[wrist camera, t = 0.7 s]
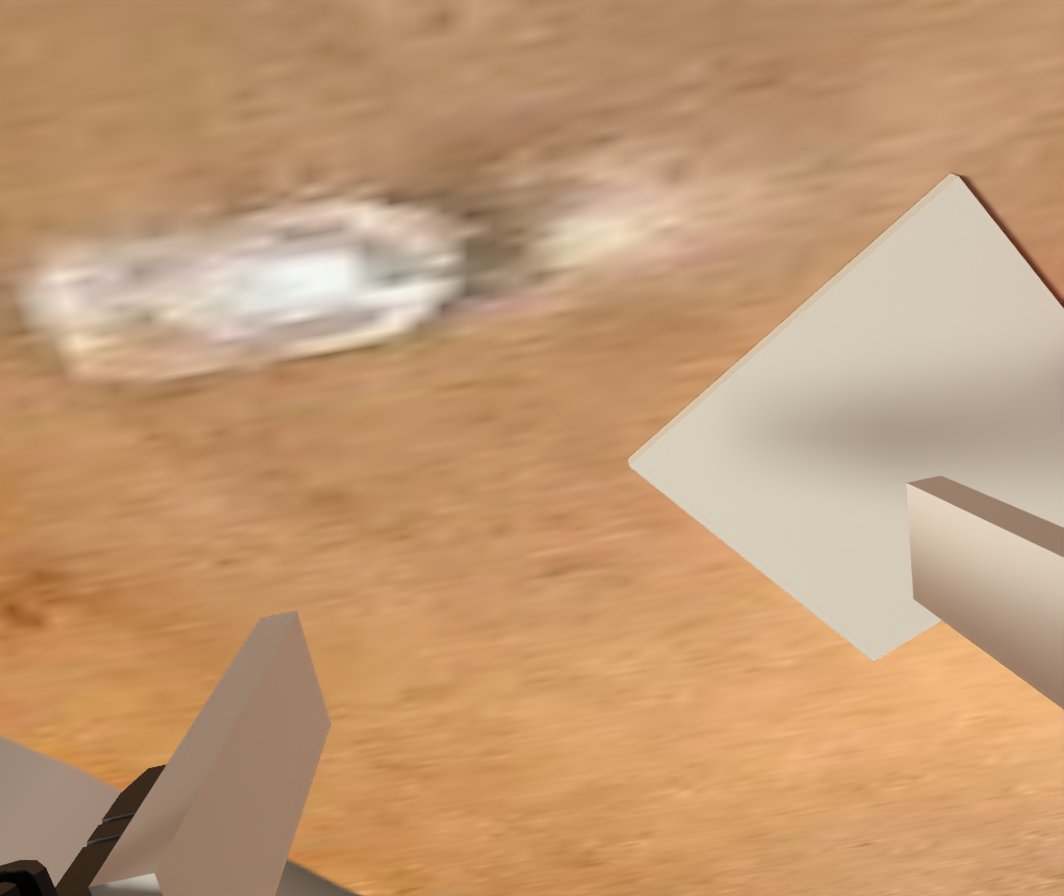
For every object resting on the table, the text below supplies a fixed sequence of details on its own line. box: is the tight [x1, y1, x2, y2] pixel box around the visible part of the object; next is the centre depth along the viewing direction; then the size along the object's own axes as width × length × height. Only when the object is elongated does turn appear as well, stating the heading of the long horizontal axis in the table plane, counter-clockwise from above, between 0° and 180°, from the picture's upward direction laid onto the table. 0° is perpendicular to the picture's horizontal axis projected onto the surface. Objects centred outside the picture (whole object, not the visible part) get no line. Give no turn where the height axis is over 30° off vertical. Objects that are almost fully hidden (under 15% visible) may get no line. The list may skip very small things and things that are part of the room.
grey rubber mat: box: [628, 173, 1064, 662], centre depth 31 cm, size 16×18×1 cm
